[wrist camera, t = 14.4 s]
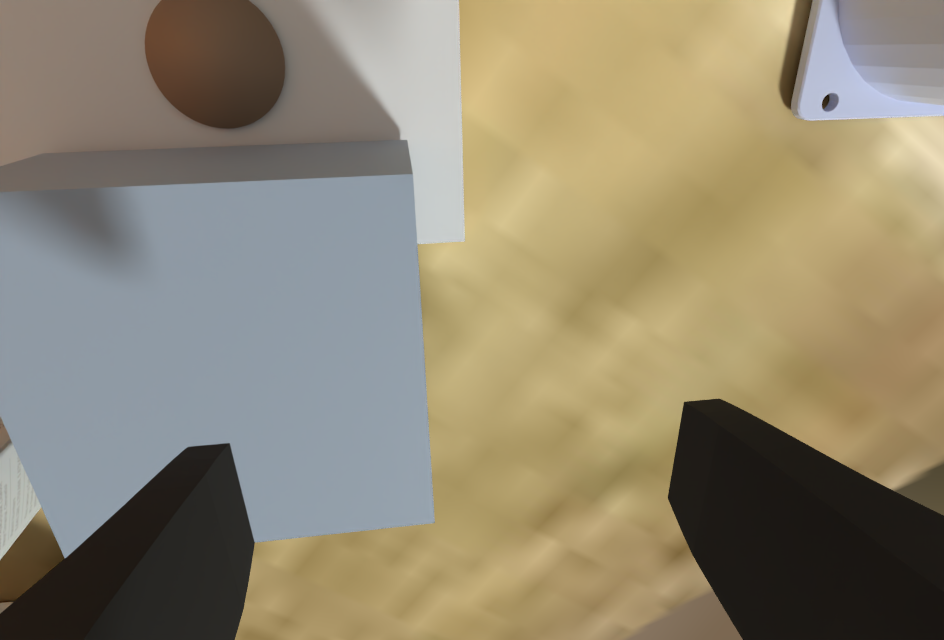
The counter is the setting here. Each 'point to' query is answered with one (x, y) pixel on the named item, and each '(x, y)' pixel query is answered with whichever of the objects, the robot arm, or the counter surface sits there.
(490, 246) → the counter surface
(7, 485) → the skincare box
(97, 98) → the base
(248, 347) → the block
